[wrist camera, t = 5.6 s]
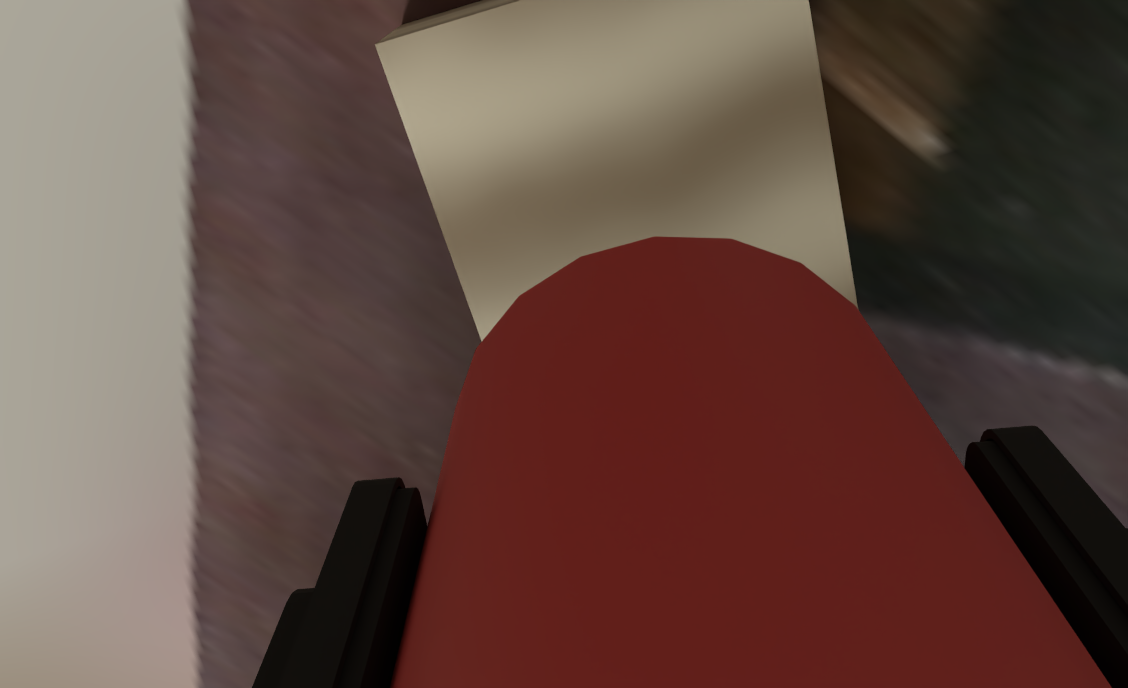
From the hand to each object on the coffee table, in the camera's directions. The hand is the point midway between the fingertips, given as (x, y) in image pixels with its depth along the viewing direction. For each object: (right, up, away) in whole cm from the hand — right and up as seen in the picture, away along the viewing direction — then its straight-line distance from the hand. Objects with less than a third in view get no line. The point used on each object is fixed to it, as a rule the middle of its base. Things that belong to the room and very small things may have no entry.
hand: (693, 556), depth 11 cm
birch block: (0, +9, +18) cm, 20 cm away
